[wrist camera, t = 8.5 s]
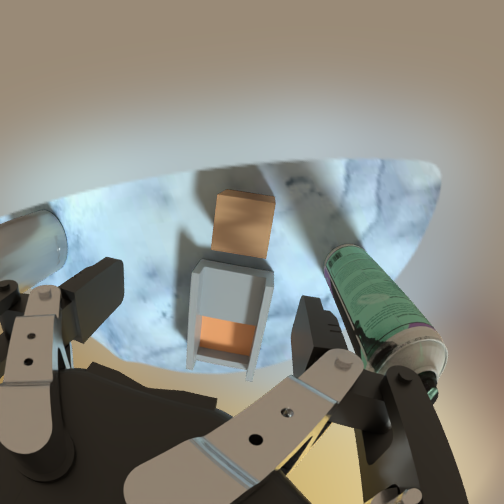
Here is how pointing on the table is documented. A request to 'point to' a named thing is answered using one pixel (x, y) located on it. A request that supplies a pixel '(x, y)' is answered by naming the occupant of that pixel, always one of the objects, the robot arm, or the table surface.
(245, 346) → the channel
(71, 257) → the table surface
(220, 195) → the walnut block
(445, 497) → the robot arm
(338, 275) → the spray can
